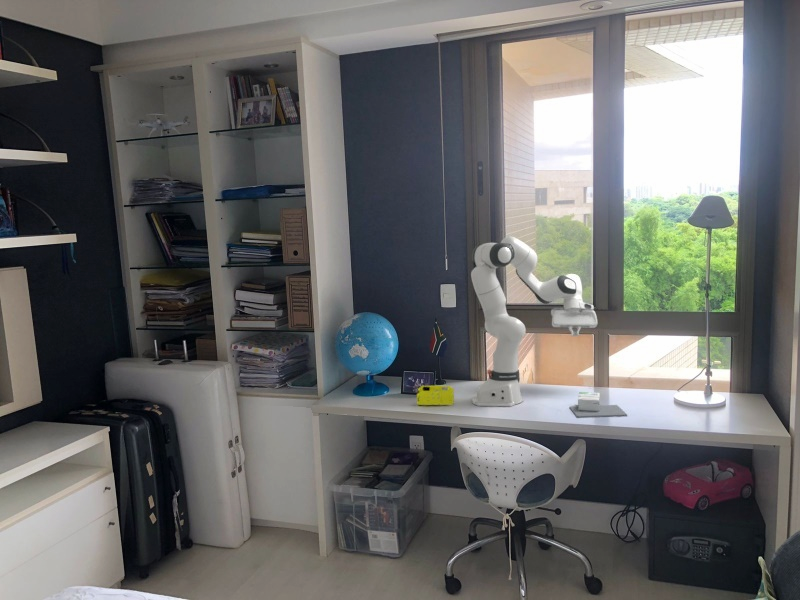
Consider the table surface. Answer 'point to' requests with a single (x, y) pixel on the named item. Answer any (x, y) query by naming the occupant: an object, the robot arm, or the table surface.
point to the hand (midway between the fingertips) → (575, 336)
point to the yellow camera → (435, 395)
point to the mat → (603, 411)
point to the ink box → (588, 401)
